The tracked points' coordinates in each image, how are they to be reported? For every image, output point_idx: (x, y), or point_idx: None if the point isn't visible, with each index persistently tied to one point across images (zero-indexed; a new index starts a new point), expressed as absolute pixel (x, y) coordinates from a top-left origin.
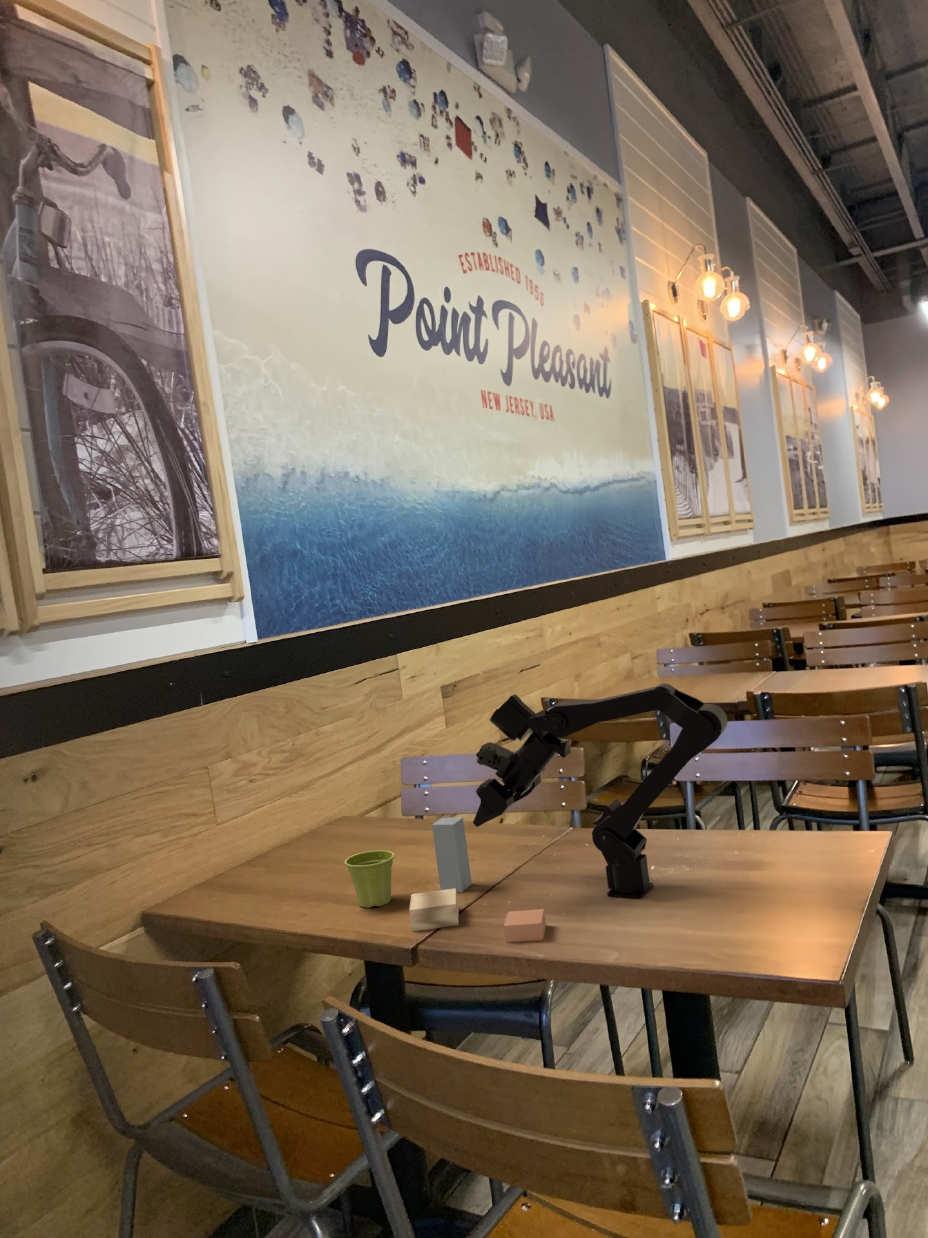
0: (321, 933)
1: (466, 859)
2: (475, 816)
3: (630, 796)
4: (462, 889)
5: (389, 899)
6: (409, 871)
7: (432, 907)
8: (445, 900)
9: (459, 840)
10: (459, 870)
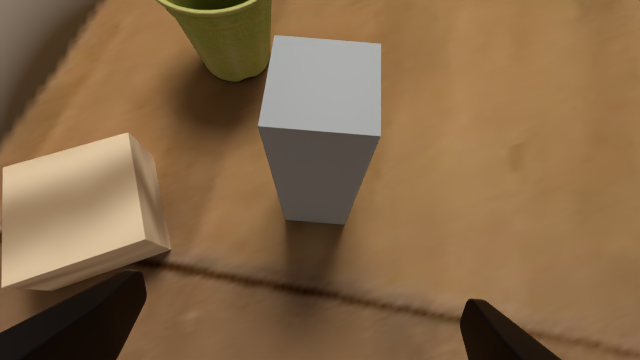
0: (93, 26)
1: (338, 202)
2: (56, 305)
3: None
4: (287, 218)
5: (231, 78)
6: (420, 56)
7: (3, 223)
8: (43, 243)
9: (306, 170)
10: (281, 202)
